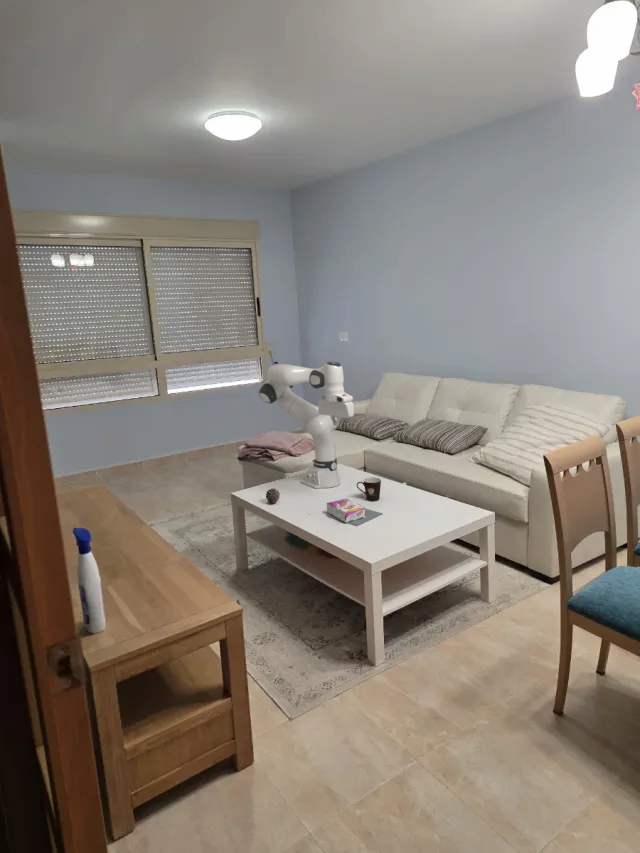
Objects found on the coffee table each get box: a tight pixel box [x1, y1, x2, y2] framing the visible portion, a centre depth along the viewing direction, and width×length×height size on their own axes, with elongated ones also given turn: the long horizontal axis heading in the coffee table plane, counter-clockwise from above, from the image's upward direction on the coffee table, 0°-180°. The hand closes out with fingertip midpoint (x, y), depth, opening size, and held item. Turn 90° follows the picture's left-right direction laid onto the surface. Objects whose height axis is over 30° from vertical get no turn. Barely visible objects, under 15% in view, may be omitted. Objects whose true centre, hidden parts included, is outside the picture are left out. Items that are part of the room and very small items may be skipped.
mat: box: [327, 508, 384, 527], centre depth 261 cm, size 18×18×1 cm
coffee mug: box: [356, 476, 382, 502], centre depth 281 cm, size 12×9×10 cm
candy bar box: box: [326, 498, 367, 524], centre depth 260 cm, size 11×5×16 cm
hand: (336, 425), depth 270 cm, fingers closed
